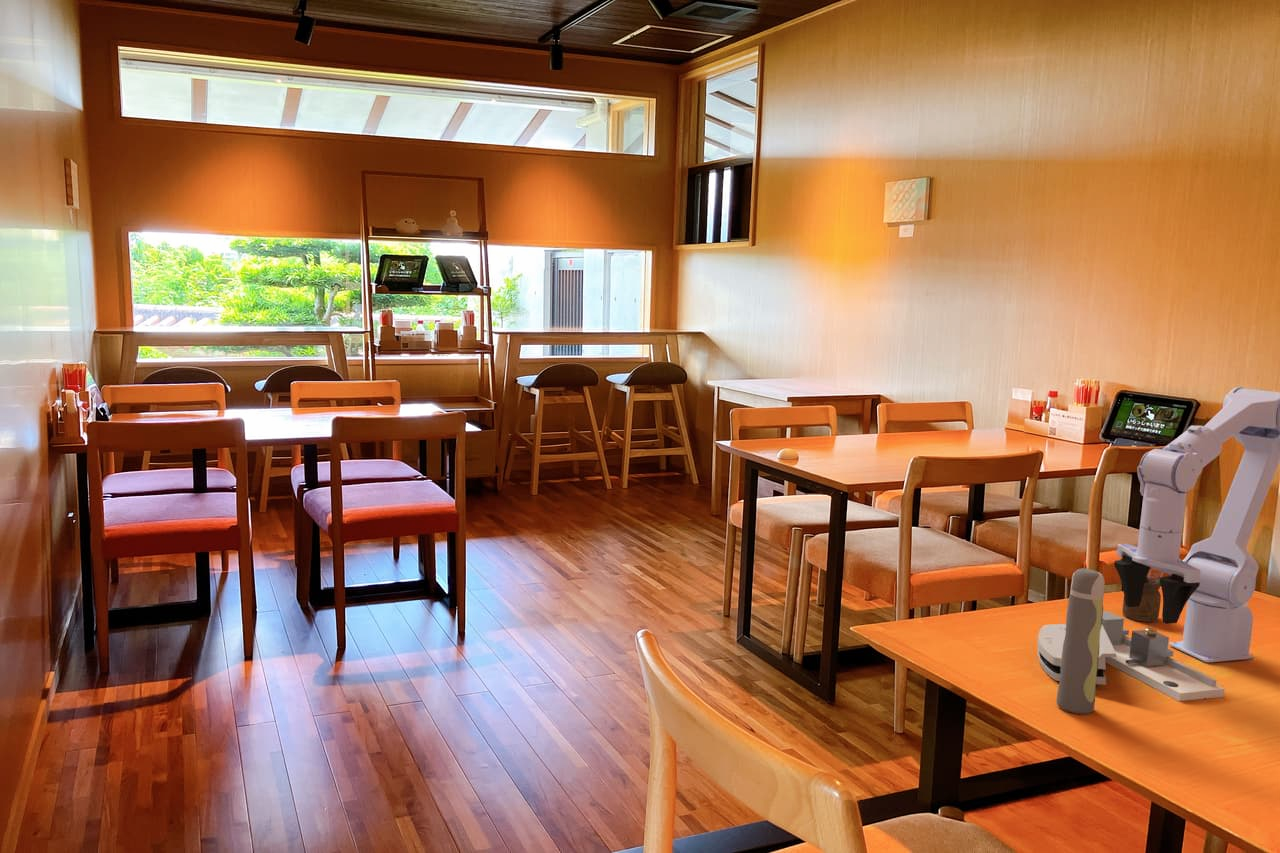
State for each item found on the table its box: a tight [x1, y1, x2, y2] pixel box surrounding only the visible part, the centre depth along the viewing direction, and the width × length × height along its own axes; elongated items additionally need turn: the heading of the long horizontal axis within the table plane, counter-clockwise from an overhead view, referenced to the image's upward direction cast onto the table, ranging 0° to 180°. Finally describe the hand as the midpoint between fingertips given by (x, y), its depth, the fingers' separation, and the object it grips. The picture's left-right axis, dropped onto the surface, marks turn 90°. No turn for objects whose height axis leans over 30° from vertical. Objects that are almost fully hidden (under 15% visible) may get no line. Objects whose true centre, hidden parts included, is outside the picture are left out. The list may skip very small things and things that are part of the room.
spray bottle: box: [1056, 567, 1106, 715], centre depth 137 cm, size 5×5×20 cm
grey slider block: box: [1126, 626, 1174, 667], centre depth 153 cm, size 4×7×5 cm, turn 106°
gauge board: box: [1102, 610, 1226, 702], centre depth 153 cm, size 22×8×6 cm, turn 16°
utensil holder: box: [1122, 568, 1164, 623], centre depth 178 cm, size 6×6×12 cm
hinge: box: [1036, 623, 1116, 686], centre depth 153 cm, size 17×5×10 cm
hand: (1150, 614), depth 153 cm, fingers open, 7 cm apart
